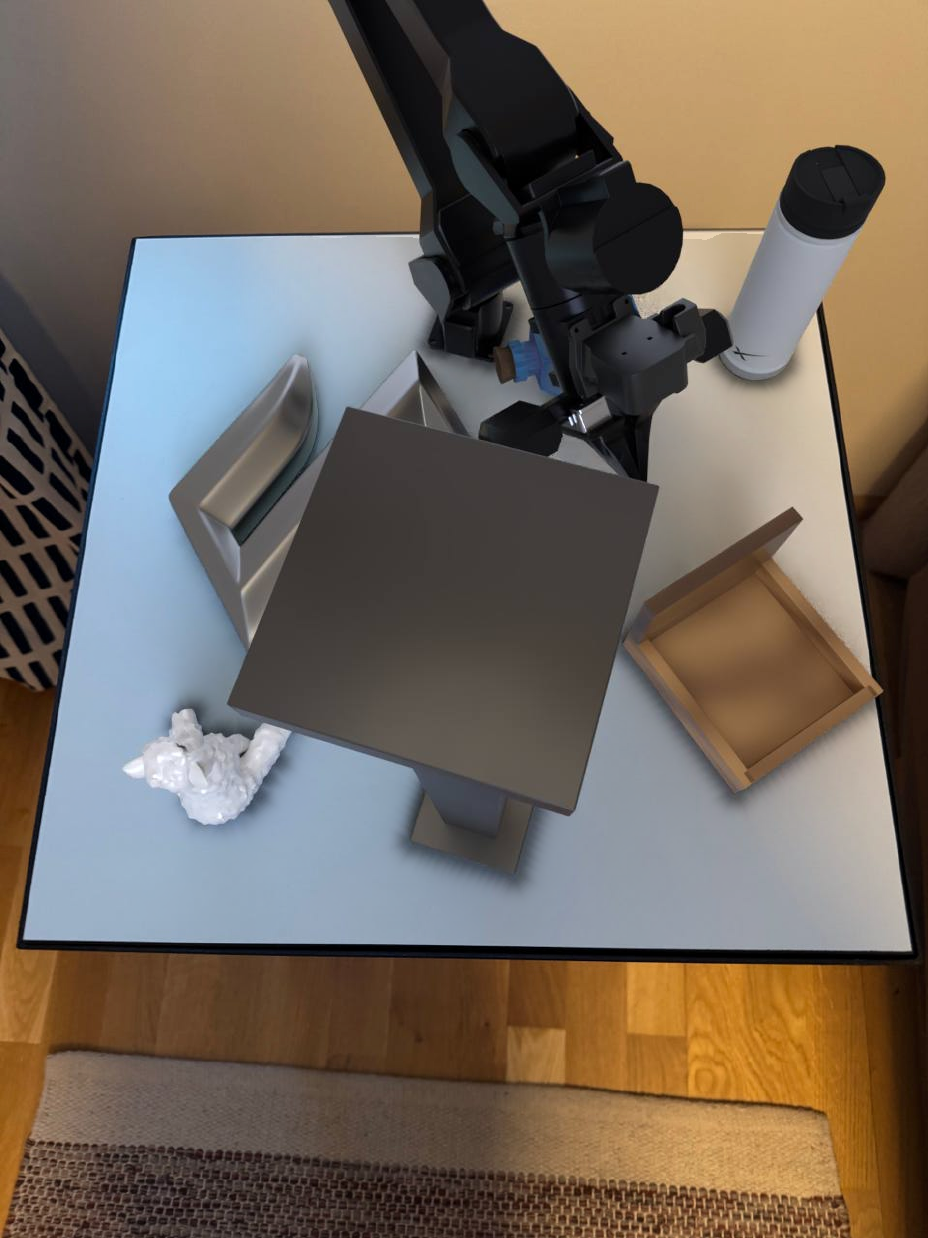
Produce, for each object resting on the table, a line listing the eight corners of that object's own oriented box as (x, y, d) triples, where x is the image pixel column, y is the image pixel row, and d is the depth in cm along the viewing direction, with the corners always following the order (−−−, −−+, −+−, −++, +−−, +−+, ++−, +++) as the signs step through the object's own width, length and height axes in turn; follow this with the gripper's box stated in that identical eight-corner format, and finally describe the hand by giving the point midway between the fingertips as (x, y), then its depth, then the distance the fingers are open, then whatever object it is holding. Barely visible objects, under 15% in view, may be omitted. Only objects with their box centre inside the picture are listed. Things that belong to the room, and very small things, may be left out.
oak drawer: (622, 644, 67) (644, 601, 57) (750, 560, 69) (792, 505, 59) (733, 793, 63) (777, 774, 53) (867, 700, 65) (931, 665, 55)
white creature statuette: (298, 719, 65) (257, 681, 54) (282, 832, 63) (236, 817, 51) (179, 711, 66) (114, 672, 54) (158, 823, 63) (85, 806, 52)
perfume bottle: (616, 328, 76) (488, 358, 75) (626, 281, 70) (488, 312, 70) (637, 385, 74) (506, 415, 74) (650, 340, 68) (507, 373, 68)
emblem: (187, 328, 71) (516, 340, 70) (208, 366, 76) (514, 378, 75) (124, 644, 62) (499, 664, 61) (151, 663, 67) (498, 682, 66)
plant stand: (443, 740, 65) (346, 404, 21) (543, 770, 64) (660, 485, 20) (410, 842, 62) (225, 704, 19) (514, 875, 61) (575, 811, 18)
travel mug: (730, 390, 74) (814, 214, 55) (709, 329, 76) (782, 139, 57) (799, 377, 74) (906, 197, 55) (775, 316, 76) (870, 123, 57)
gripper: (503, 365, 48) (592, 584, 55) (759, 219, 51) (811, 445, 58) (437, 352, 58) (520, 540, 65) (655, 230, 60) (711, 423, 68)
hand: (639, 488), depth 64 cm, fingers closed
